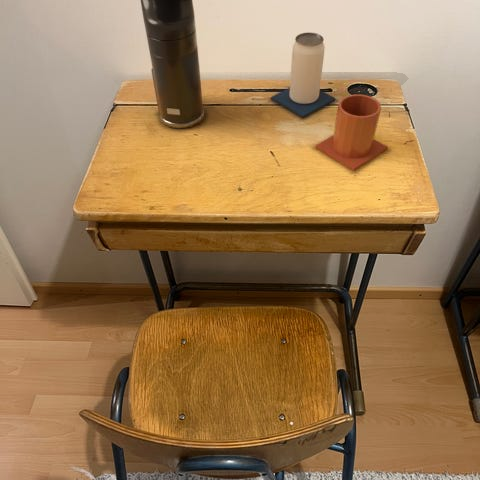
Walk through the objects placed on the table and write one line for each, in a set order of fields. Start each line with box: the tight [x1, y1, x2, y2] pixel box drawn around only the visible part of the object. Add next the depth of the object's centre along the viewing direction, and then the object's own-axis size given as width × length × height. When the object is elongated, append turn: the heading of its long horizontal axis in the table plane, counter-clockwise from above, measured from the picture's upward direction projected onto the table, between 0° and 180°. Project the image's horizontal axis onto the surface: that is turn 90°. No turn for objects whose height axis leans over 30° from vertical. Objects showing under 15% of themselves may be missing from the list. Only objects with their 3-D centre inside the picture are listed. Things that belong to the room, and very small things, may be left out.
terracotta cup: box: [332, 93, 382, 158], centre depth 88 cm, size 8×8×9 cm
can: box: [289, 31, 325, 104], centre depth 97 cm, size 6×6×12 cm
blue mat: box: [270, 87, 336, 119], centre depth 102 cm, size 10×10×1 cm
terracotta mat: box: [315, 135, 389, 172], centre depth 92 cm, size 10×10×1 cm
